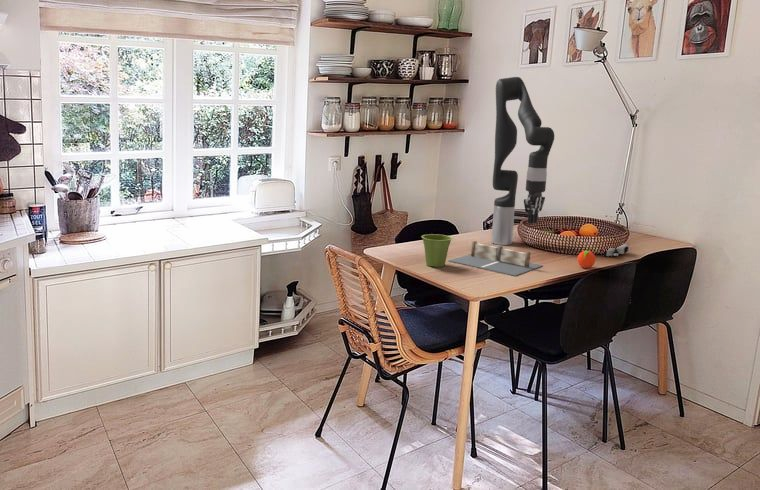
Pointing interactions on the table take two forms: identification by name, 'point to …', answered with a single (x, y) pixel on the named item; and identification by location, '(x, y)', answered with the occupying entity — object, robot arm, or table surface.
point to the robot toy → (617, 250)
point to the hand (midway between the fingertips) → (532, 222)
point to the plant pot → (436, 249)
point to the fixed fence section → (484, 251)
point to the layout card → (494, 265)
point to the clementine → (586, 259)
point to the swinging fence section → (513, 257)
